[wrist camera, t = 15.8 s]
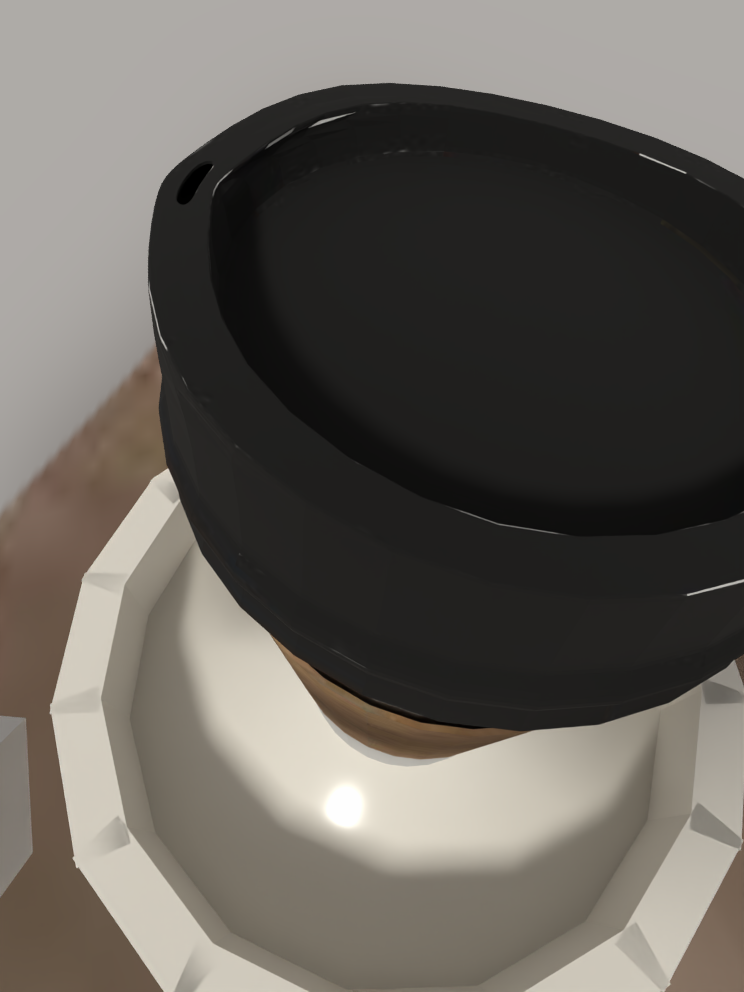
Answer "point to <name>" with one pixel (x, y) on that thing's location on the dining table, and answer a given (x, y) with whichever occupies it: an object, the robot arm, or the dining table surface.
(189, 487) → the coffee cup
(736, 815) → the serving bowl
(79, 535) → the dining table surface
